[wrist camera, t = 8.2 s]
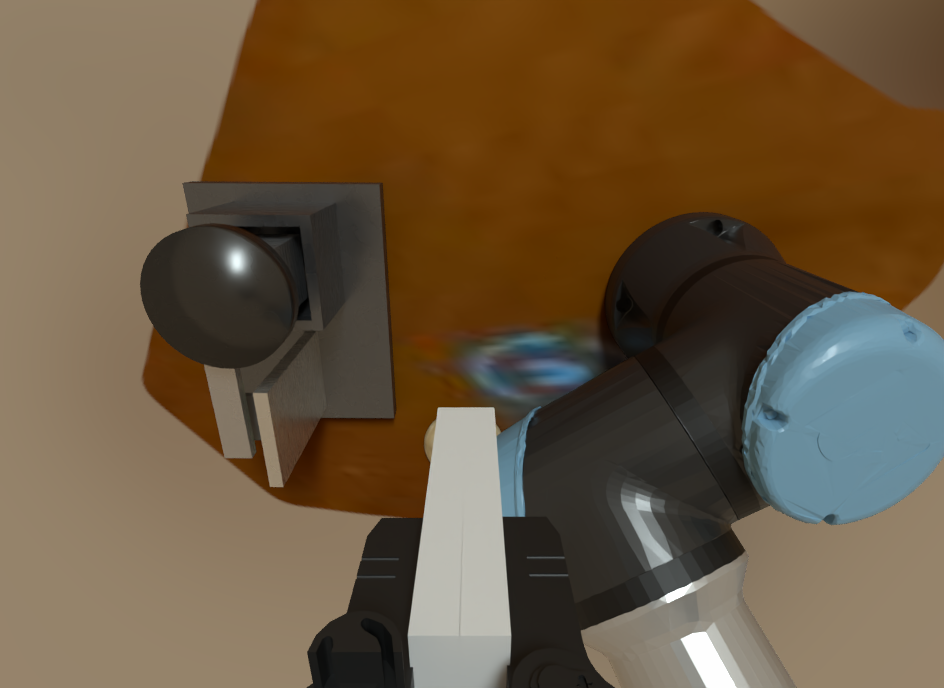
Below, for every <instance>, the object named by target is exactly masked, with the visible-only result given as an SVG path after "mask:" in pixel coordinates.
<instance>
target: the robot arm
mask: <svg viewBox="0 0 944 688" xmlns="http://www.w3.org/2000/svg"><path fill="white" fill-rule="evenodd" d="M605 312H606V318H607V323H608V326H609V329H610V332H611V334H612V336H613V338H614V339H615V341H616V343H617V344H618V345H619V347H620V348H621V350H622V351H623V352H624V354H625V355H626V356H627V357H628V358H629V359H627V360H626V361H624V362H622V363H620V364H618V365H617V366H615V367H613V368H611V369H610V370H608V371H606V372H604V373H602V374H601V375H599V376H597V377H595V378H594V379H592V380H590V381H588V382H587V383H585V384H583V385H581V386H579V387H578V388H576V389H574V390H572V391H571V392H569V393H567V394H565V395H564V396H562V397H560V398H558V399H556V400H555V401H553V402H551V403H549V404H547V405H546V406H544V407H537V408H535V409H533V410H532V411H530V412H529V413H528V415H527V416H526V417H525V418H523V419H522V420H520V421H519V422H517V423H516V424H514V425H512V426H511V427H509V428H508V429H506V430H505V431H503V432H502V433H500V434H498V435H497V436H496V425H495V411H494V408H438V412H437V420H436V427H435V435H434V442H433V450H432V457H431V465H430V472H429V480H428V487H427V495H426V502H425V510H424V517H423V518H382V519H381V520H380V521H379V522H378V524H377V525H376V526H375V527H374V529H373V530H372V531H371V532H370V533H369V535H368V536H367V539H366V543H365V547H364V551H363V554H362V561H361V562H360V566H359V569H358V573H357V579H356V581H355V585H354V588H353V592H352V596H351V599H350V603H349V607H348V611H347V613H346V614H344V615H343V616H341V617H339V618H337V619H335V620H333V621H331V622H329V623H328V624H327V626H325V627H324V628H323V629H322V630H321V631H320V632H319V633H318V634H317V635H316V636H315V638H314V640H313V642H312V644H311V646H310V648H309V650H308V652H307V653H308V659H309V664H310V669H311V674H312V680H313V684H311V685H310V686H308V687H307V688H615V687H613V686H612V685H610V684H609V683H608V682H606V681H605V680H604V679H603V678H602V677H601V675H600V674H599V673H598V672H597V671H596V670H595V668H594V667H593V665H592V664H591V662H590V660H589V659H588V656H587V653H586V650H585V648H584V644H585V645H587V646H589V647H591V648H593V649H595V650H597V651H599V652H601V653H602V654H603V655H604V656H606V657H607V658H608V659H609V662H610V664H611V666H612V668H613V670H614V672H615V675H616V677H617V679H618V681H619V683H620V685H621V688H797V687H796V685H795V684H794V682H793V680H792V679H791V677H790V675H789V674H788V672H787V670H786V669H785V667H784V665H783V664H782V662H781V660H780V659H779V657H778V655H777V654H776V652H775V650H774V649H773V647H772V645H771V644H770V642H769V640H768V639H767V637H766V636H765V634H764V632H763V630H762V629H761V627H760V626H759V624H758V622H757V621H756V619H755V617H754V616H753V614H752V612H751V611H750V609H749V607H748V606H747V604H746V602H745V601H744V598H743V591H742V587H743V582H744V577H745V572H746V567H747V562H748V557H749V556H748V554H747V552H746V550H745V549H744V548H743V546H742V544H741V543H740V541H739V540H738V538H737V536H736V535H735V533H734V532H733V530H732V528H731V524H732V523H734V522H736V521H737V520H740V519H741V518H744V517H746V516H748V515H750V514H752V513H755V512H757V511H759V510H761V509H764V508H766V507H768V506H770V505H771V506H772V507H773V508H774V509H775V510H777V511H780V512H782V513H783V514H786V515H787V516H789V517H792V518H794V519H796V520H799V521H802V522H805V523H812V524H817V523H819V522H820V521H821V520H824V521H825V522H826V523H828V524H830V525H840V524H847V523H851V522H855V521H858V520H861V519H864V518H868V517H871V516H873V515H876V514H878V513H880V512H882V511H884V510H886V509H887V508H890V507H891V506H893V505H894V504H896V503H898V502H899V501H901V500H902V499H904V498H905V497H906V496H908V495H909V494H910V493H911V492H913V491H914V490H915V489H916V488H917V487H918V486H919V485H920V484H922V482H924V480H925V479H926V478H927V477H928V476H929V475H930V474H931V473H932V471H934V469H935V468H936V466H937V465H938V464H939V462H940V461H941V460H942V458H943V457H944V340H943V339H942V338H941V337H940V336H939V335H938V334H937V333H936V332H935V331H934V330H933V329H931V328H930V327H928V326H927V325H925V324H924V323H922V322H920V321H918V320H916V319H915V318H913V317H911V316H909V315H907V314H905V313H904V312H902V311H900V310H898V309H896V308H894V307H893V306H891V305H890V303H889V302H887V301H885V300H883V299H882V298H880V297H876V296H875V295H871V294H866V293H864V292H862V293H859V292H857V291H854V290H852V289H849V288H847V287H844V286H842V285H839V284H836V283H834V282H831V281H829V280H826V279H824V278H821V277H819V276H816V275H814V274H811V273H809V272H806V271H804V270H801V269H799V268H796V267H794V266H791V265H789V264H786V262H785V261H784V259H783V258H782V256H781V255H780V253H779V252H778V250H777V249H776V247H775V246H774V244H773V243H772V242H771V241H770V240H769V239H768V238H767V237H766V236H765V235H764V234H763V233H762V232H761V231H759V230H758V229H756V228H755V227H753V226H752V225H750V224H748V223H746V222H744V221H741V220H738V219H735V218H732V217H729V216H726V215H722V214H717V213H709V212H698V213H689V214H683V215H679V216H676V217H673V218H670V219H667V220H665V221H663V222H661V223H659V224H657V225H655V226H653V227H652V228H650V229H649V230H647V231H646V232H644V233H643V234H642V235H641V236H639V237H638V238H637V239H636V240H635V241H634V242H633V243H632V244H631V245H630V246H629V247H628V248H627V249H626V251H625V252H624V253H623V255H622V256H621V257H620V259H619V261H618V262H617V264H616V266H615V268H614V270H613V272H612V274H611V277H610V280H609V283H608V286H607V291H606V298H605Z"/></svg>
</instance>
